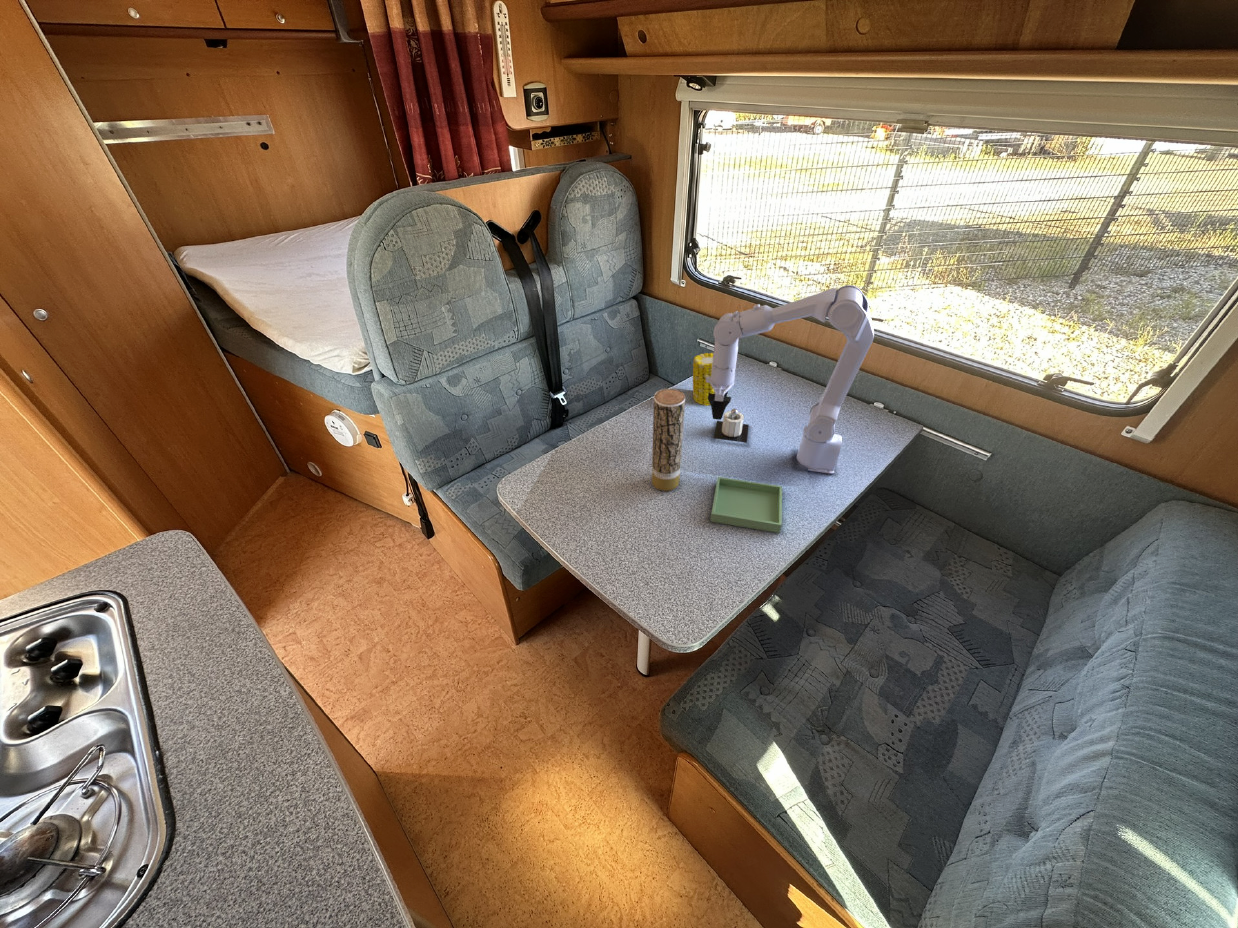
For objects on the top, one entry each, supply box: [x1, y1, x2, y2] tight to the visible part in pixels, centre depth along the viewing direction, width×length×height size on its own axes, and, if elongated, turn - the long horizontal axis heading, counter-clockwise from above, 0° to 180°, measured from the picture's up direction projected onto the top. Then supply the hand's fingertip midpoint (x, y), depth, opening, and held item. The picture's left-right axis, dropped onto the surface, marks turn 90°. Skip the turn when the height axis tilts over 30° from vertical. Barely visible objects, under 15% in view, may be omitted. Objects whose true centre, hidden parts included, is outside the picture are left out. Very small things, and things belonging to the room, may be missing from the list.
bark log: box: [651, 388, 686, 492], centre depth 115 cm, size 7×7×25 cm
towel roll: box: [722, 410, 745, 437], centre depth 136 cm, size 5×5×5 cm
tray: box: [710, 476, 783, 534], centre depth 114 cm, size 15×13×2 cm
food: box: [692, 352, 715, 407], centre depth 148 cm, size 15×12×10 cm
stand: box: [713, 408, 750, 444], centre depth 136 cm, size 9×9×8 cm
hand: (718, 410), depth 129 cm, fingers open, 7 cm apart
